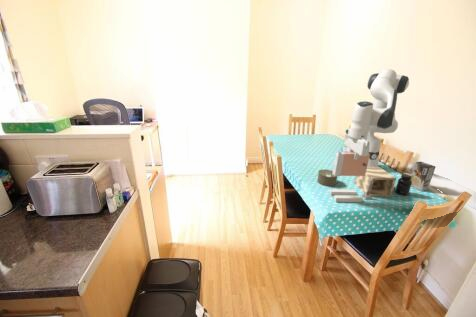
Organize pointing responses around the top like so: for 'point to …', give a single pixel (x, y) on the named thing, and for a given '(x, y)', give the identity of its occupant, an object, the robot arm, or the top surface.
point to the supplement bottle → (403, 185)
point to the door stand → (345, 195)
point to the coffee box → (422, 175)
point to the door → (350, 164)
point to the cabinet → (375, 183)
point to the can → (326, 178)
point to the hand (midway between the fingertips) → (353, 158)
